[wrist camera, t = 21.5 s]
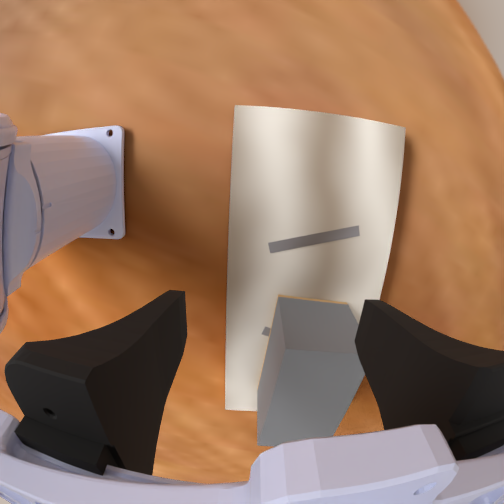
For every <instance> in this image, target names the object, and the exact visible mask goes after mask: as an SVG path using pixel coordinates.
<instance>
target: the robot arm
mask: <svg viewBox="0 0 504 504" xmlns="http://www.w3.org/2000/svg"><path fill="white" fill-rule="evenodd" d="M110 130H112V131H113V135H112V136H111V137H110V136H109V131H110ZM16 135H17V127H16V126H15V125H13V123H12V121H11V119H10V117H9V116H8V115H6V114H3V113H0V333H1V332H2V331H3V329H4V327H5V325H6V322H7V319H8V301H7V297H6V296H9V295H10V294H11V293H13V292H14V291H15V290H17V289H18V288H19V287H20V286H21V278H22V275H23V273H24V272H25V271H26V270H27V269H29V268H30V267H32V266H33V265H35V264H36V263H38V262H39V261H41V260H42V259H44V258H46V257H47V256H49V255H50V254H52V253H54V252H55V251H57V250H58V249H60V248H62V247H63V246H65V245H67V244H68V243H70V242H72V241H73V240H75V239H77V238H78V237H83V238H104V239H121V238H122V237H124V235H125V212H124V129H123V127H121V126H117V125H116V126H106V127H96V128H88V129H80V130H73V131H66V132H59V133H53V134H47V135H42V136H20V137H16ZM111 229H113V230H114V232H115V233H114V234H112V233H111ZM186 338H187V322H186V303H185V291H175V290H169V291H167V292H166V293H164V294H162V295H161V296H159V297H158V298H156V299H154V300H153V301H151V302H150V303H148V304H147V305H145V306H143V307H142V308H140V309H138V310H137V311H135V312H133V313H131V314H129V315H128V316H126V317H124V318H122V319H120V320H118V321H116V322H114V323H111V324H109V325H106V326H104V327H101V328H99V329H96V330H92V331H89V332H86V333H83V334H80V335H76V336H71V337H67V338H61V339H55V340H48V341H37V342H26V343H25V344H24V345H23V346H22V347H21V348H20V349H19V350H18V352H17V353H16V354H15V355H14V356H13V357H12V358H11V359H10V360H9V362H8V363H7V364H6V366H5V376H6V381H7V384H8V386H9V388H10V390H11V392H12V394H13V396H14V398H15V400H16V401H17V403H18V405H19V407H20V409H21V410H22V412H23V414H24V415H25V416H24V418H23V419H22V421H21V422H19V421H18V420H17V419H16V418H15V417H14V416H12V415H10V414H8V413H6V412H5V411H3V410H1V409H0V497H2V498H3V499H5V500H6V501H8V502H10V503H11V504H503V503H504V351H499V350H493V349H488V348H483V347H479V346H475V345H472V344H469V343H465V342H462V341H459V340H456V339H454V338H451V337H449V336H446V335H444V334H442V333H439V332H437V331H435V330H433V329H431V328H429V327H427V326H425V325H424V324H422V323H420V322H418V321H416V320H415V319H413V318H411V317H409V316H408V315H406V314H404V313H403V312H401V311H399V310H397V309H396V308H394V307H392V306H391V305H389V304H387V303H385V302H383V301H380V300H370V299H365V301H364V305H363V309H362V313H361V317H360V321H359V325H358V329H357V333H356V337H355V340H354V341H355V345H356V349H357V353H358V357H359V360H360V363H361V365H362V368H363V370H364V372H365V375H366V377H367V379H368V382H369V384H370V386H371V389H372V391H373V393H374V396H375V398H376V401H377V404H378V407H379V410H380V414H381V418H382V422H383V426H384V430H383V431H376V432H369V433H361V434H352V435H342V436H331V437H316V438H307V439H301V440H295V441H289V442H284V443H282V444H280V445H278V446H275V447H273V448H271V449H269V450H266V451H264V452H263V453H261V454H260V455H259V456H258V458H257V459H256V460H255V462H254V463H253V464H252V466H251V472H250V479H249V481H243V482H232V483H217V484H203V483H194V482H187V481H180V480H173V479H168V478H162V477H157V476H152V473H153V465H154V458H155V452H156V445H157V440H158V434H159V429H160V424H161V420H162V415H163V411H164V406H165V402H166V399H167V396H168V393H169V391H170V388H171V385H172V382H173V380H174V377H175V375H176V372H177V369H178V367H179V364H180V361H181V358H182V356H183V352H184V348H185V343H186Z"/></svg>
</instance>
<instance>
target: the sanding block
mask: <svg viewBox="0 0 504 504" xmlns="http://www.w3.org/2000/svg"><path fill="white" fill-rule="evenodd" d="M358 325H359V324H358V322H357V320H356V318H355V317H354V315H353V313H352V311H351V309H350V307H349V305H348V304H347V302H338V301H329V300H320V299H311V298H303V297H294V296H286V295H278V297H277V301H276V306H275V311H274V316H273V320H272V325H271V330H270V334H269V339H268V343H267V348H266V352H265V357H264V361H263V366H262V370H261V374H260V379H259V383H258V387H257V445H259V446H278V445H280V444H282V443H284V442H289V441H295V440H301V439H307V438H316V437H331V436H333V435H334V433H335V431H336V430H337V428H338V426H339V424H340V422H341V421H342V419H343V417H344V415H345V413H346V411H347V409H348V407H349V406H350V404H351V402H352V400H353V398H354V396H355V394H356V392H357V390H358V388H359V386H360V384H361V382H362V379H363V377H364V375H365V372H364V370H363V368H362V365H361V363H360V360H359V357H358V353H357V349H356V345H355V341H354V340H355V337H356V333H357V329H358Z"/></svg>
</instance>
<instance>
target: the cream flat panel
mask: <svg viewBox="0 0 504 504" xmlns="http://www.w3.org/2000/svg"><path fill="white" fill-rule="evenodd" d="M404 144H405V127H401V126H396V125H392V124H387V123H382V122H377V121H372V120H367V119H361V118H356V117H350V116H344V115H337V114H330V113H323V112H315V111H307V110H298V109H287V108H276V107H261V106H242V105H235V110H234V127H233V145H232V164H231V185H230V208H229V235H228V265H227V304H226V368H225V409H226V410H242V411H257V387H258V383H259V379H260V374H261V370H262V366H263V361H264V357H265V352H266V348H267V343H268V339H269V334H270V330H271V325H272V320H273V316H274V311H275V306H276V301H277V297H278V295H286V296H294V297H303V298H311V299H320V300H329V301H338V302H347V304H348V305H349V307H350V309H351V311H352V313H353V315H354V317H355V318H356V320H357V322H358V324H359V321H360V317H361V313H362V309H363V305H364V301H365V299H370V300H379V299H380V295H381V291H382V287H383V283H384V278H385V274H386V269H387V264H388V260H389V255H390V249H391V244H392V239H393V233H394V227H395V221H396V215H397V208H398V201H399V193H400V185H401V177H402V167H403V156H404Z"/></svg>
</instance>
